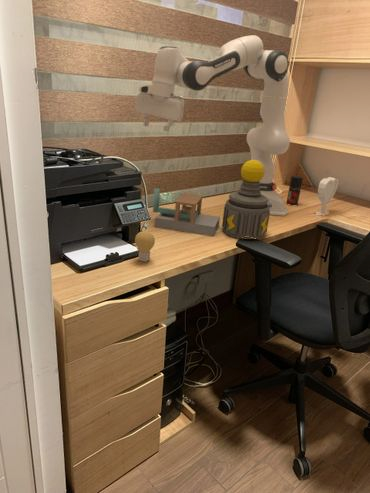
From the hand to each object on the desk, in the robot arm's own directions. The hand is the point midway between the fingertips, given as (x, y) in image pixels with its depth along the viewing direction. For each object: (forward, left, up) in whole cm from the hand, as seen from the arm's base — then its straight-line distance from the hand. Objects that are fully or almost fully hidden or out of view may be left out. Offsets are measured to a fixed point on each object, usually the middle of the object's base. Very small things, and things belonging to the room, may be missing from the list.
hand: (155, 128), depth 151 cm
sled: (-11, +4, -33) cm, 35 cm away
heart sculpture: (-76, -47, -38) cm, 98 cm away
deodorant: (-61, -56, -38) cm, 91 cm away
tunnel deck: (-17, +4, -38) cm, 41 cm away
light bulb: (-11, +43, -38) cm, 58 cm away
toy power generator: (-40, +1, -38) cm, 55 cm away
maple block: (-17, +4, -34) cm, 38 cm away
